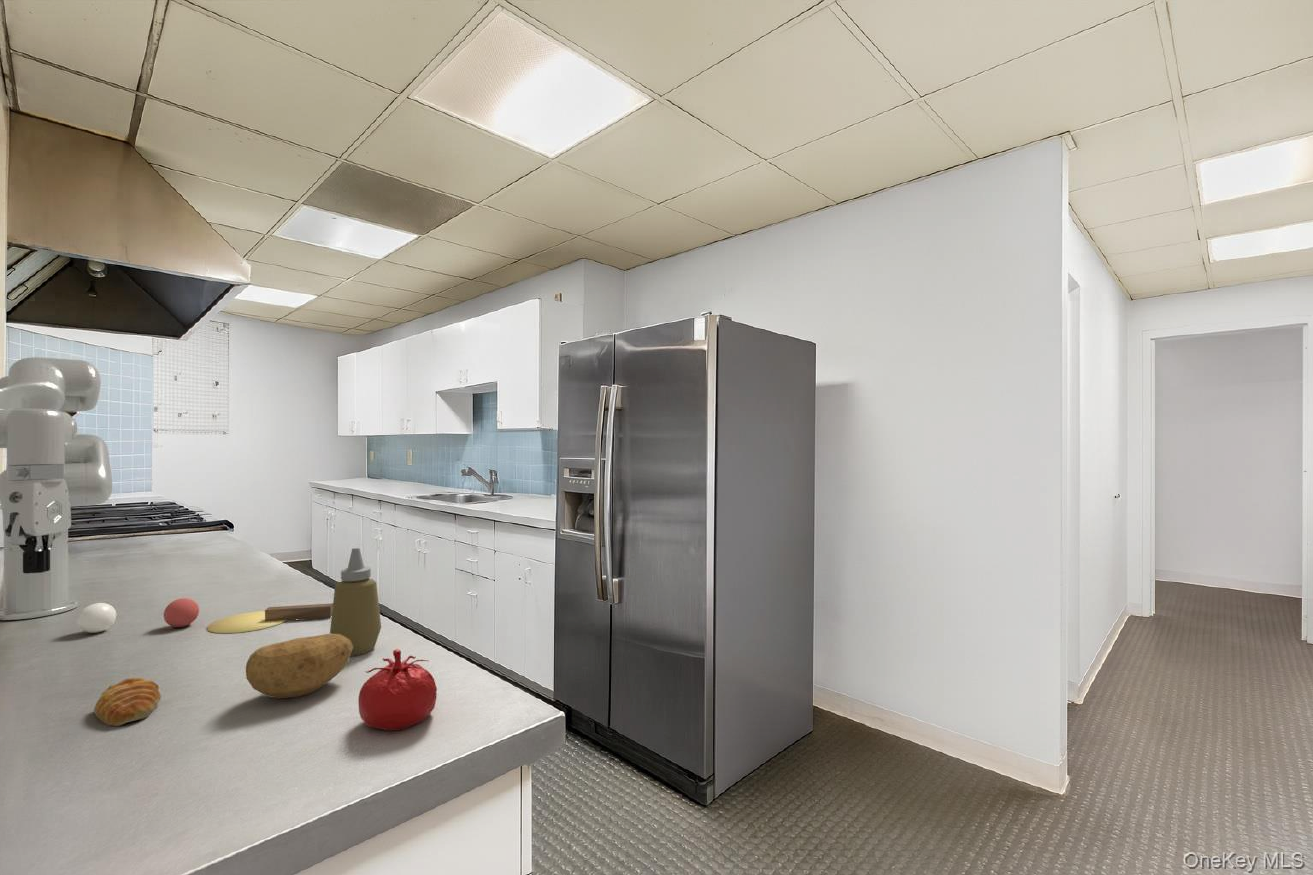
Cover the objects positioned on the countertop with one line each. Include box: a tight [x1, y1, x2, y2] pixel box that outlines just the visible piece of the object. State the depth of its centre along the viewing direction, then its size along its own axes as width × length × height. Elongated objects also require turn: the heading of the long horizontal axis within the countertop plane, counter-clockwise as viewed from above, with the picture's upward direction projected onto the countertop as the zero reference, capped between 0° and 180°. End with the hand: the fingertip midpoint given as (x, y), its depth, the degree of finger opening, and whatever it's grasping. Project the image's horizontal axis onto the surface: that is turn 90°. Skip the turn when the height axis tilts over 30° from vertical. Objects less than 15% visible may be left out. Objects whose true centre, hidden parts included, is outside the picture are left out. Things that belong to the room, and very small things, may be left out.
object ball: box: [163, 597, 200, 628], centre depth 117 cm, size 6×6×6 cm
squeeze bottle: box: [329, 547, 382, 657], centre depth 104 cm, size 8×8×18 cm
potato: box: [245, 633, 353, 699], centre depth 87 cm, size 10×14×8 cm
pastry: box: [93, 677, 162, 727], centre depth 81 cm, size 9×7×4 cm
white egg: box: [76, 602, 117, 634], centre depth 114 cm, size 6×6×6 cm
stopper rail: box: [264, 602, 333, 621], centre depth 122 cm, size 2×12×2 cm, turn 104°
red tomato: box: [357, 649, 438, 731], centre depth 79 cm, size 10×10×9 cm
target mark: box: [206, 610, 287, 634], centre depth 120 cm, size 14×14×1 cm
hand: (36, 571), depth 111 cm, fingers closed
